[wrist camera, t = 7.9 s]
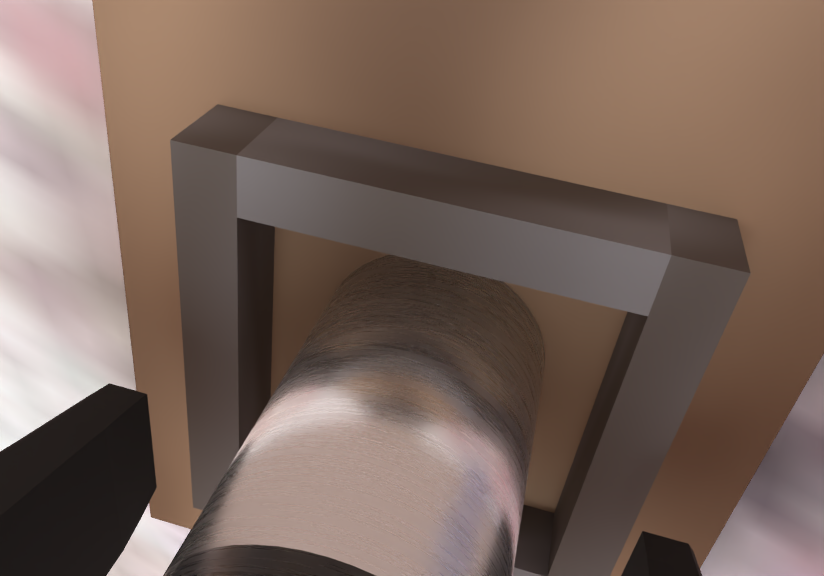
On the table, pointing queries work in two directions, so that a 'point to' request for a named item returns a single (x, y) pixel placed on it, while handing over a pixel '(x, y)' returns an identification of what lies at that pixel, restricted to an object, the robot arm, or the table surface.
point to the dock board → (484, 225)
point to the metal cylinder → (387, 438)
